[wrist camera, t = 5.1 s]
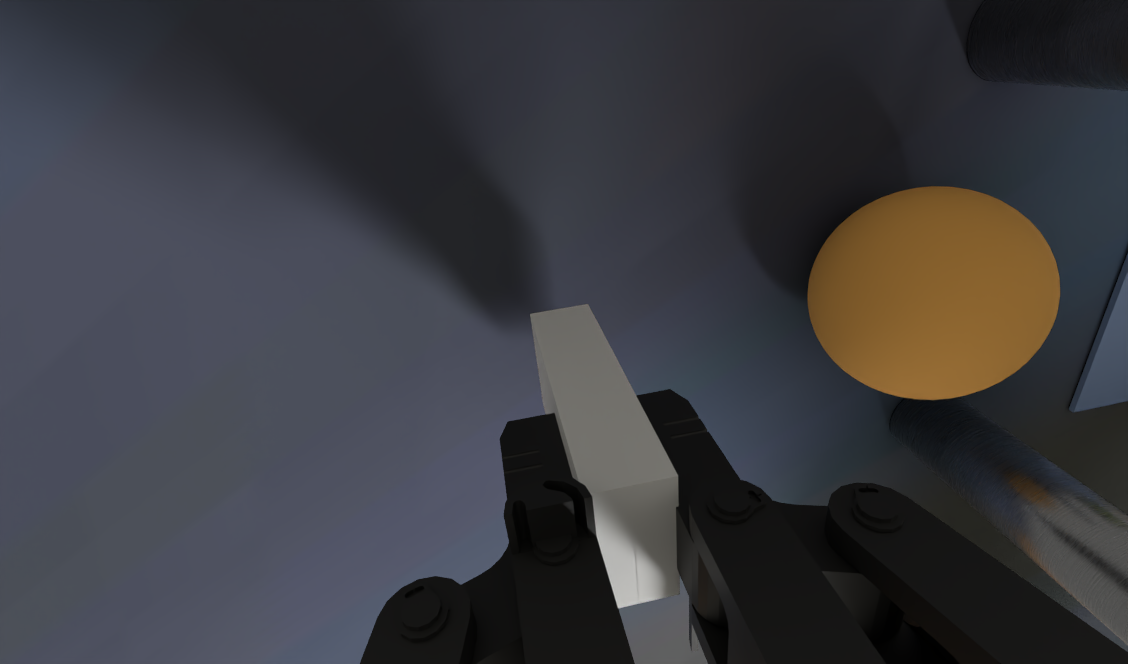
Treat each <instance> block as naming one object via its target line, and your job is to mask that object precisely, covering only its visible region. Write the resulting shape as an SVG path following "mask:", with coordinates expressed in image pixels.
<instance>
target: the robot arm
mask: <svg viewBox="0 0 1128 664" xmlns="http://www.w3.org/2000/svg"><path fill="white" fill-rule="evenodd" d="M530 318H531V324H532V331H533V338H534V345H535V352H536V358H537V365H538V372H539V379H540V386H541V393H542V399H543V405H544V409H545V413H546V415H540V416H535V417H530V418H525V419H519V420H514V421H509V422H507V424H506V427H505V429H504V431H503V433H502V435H501V437H500V445H501V453H502V461H503V469H504V477H505V485H506V493H507V501H506V503H505V510H504V519H505V524H506V529H507V534H508V539H509V544H508V547H507V549H506V551H505V552H504V554H503V555H502V557H501V558H500V559H499V560H498V561H497V562H496V563H495V564H494V565H493V566H492V567H491V568H490V569H488V570H487V571H485V572H484V573H482V574H481V575H479V576H477V577H475V578H473V579H471V580H469V581H467V582H466V583H464V584H462V585H460V584H458V583H457V582H455V581H454V580H452V579H449V578H443V577H437V576H434V577H429V578H423V579H418V580H416V581H414V582H412V583H410V584H408V585H406V586H404V587H402V588H401V589H400V590H399V591H398V592H397V593H395V594H394V595H393V596H392V597H391V598H390V599H389V600H388V601H387V602H386V604H385V606H384V607H383V609H382V611H381V612H380V614H379V616H378V617H377V620H376V623H375V625H374V628H373V631H372V633H371V636H370V638H369V641H368V644H367V646H366V649H365V652H364V654H363V657H362V659H361V662H360V664H635V663H634V660H633V657H632V653H631V650H630V647H629V643H628V640H627V637H626V633H625V630H624V626H623V623H622V620H621V616H620V613H619V610H618V608H622V607H626V606H630V605H635V604H639V603H643V602H648V601H652V600H656V599H661V598H665V597H669V596H674V595H678V594H680V576H681V579H682V581H683V583H684V586H685V588H686V590H687V593H688V595H689V640H690V646H691V651H692V652H694V651H698V640H699V642H700V645H701V647H702V650H703V652H704V655H705V657H706V659H707V662H708V664H1128V652H1126V651H1125V650H1124V649H1122V648H1121V647H1119V646H1118V645H1117V644H1115V643H1114V642H1112V641H1111V640H1109V639H1108V638H1107V637H1105V636H1104V635H1102V634H1101V633H1100V632H1098V631H1097V630H1095V629H1094V628H1092V627H1091V626H1090V625H1088V624H1087V623H1085V622H1084V621H1082V620H1081V619H1080V618H1078V617H1077V616H1075V615H1074V614H1073V613H1071V612H1070V611H1068V610H1067V609H1065V608H1064V607H1063V606H1061V605H1060V604H1058V603H1057V602H1055V601H1054V600H1053V599H1051V598H1050V597H1048V596H1047V595H1046V594H1044V593H1043V592H1041V591H1040V590H1038V589H1037V588H1036V587H1034V586H1033V585H1031V584H1030V583H1029V582H1027V581H1026V580H1024V579H1023V578H1021V577H1020V576H1019V575H1017V574H1016V573H1014V572H1013V571H1011V570H1010V569H1009V568H1007V567H1006V566H1004V565H1003V564H1002V563H1000V562H999V561H997V560H996V559H994V558H993V557H992V556H990V555H989V554H987V553H986V552H984V551H983V550H982V549H980V548H979V547H977V546H976V545H975V544H973V543H972V542H970V541H969V540H967V539H966V538H965V537H963V536H962V535H960V534H959V533H957V532H956V531H955V530H953V529H952V528H950V527H949V526H948V525H946V524H945V523H943V522H942V521H940V520H939V519H938V518H936V517H935V516H933V515H932V514H931V513H929V512H928V511H926V510H925V509H923V508H922V507H921V506H919V505H918V504H916V503H915V502H913V501H912V500H911V499H909V498H908V497H906V496H904V495H902V494H900V493H898V492H897V491H895V490H893V489H891V488H887V487H884V486H880V485H876V484H872V483H853V484H849V485H845V486H841V487H840V488H839V489H837V490H836V491H835V492H834V493H832V494H831V497H830V501H829V504H828V506H811V505H793V504H785V503H779V502H776V501H772V499H771V498H770V497H769V496H768V495H767V494H766V493H765V492H764V491H763V490H762V489H761V488H759V487H757V486H755V485H753V484H751V483H749V482H747V481H743V480H740V478H739V477H738V475H737V474H736V472H735V471H734V469H733V468H732V466H731V465H730V463H729V462H728V460H727V459H726V457H725V456H724V454H723V453H722V451H721V450H720V448H719V447H718V445H717V444H716V442H715V441H714V439H713V438H712V436H711V435H710V433H709V432H707V429H706V427H705V426H704V424H703V423H702V421H701V420H700V419H699V418H698V415H697V413H696V412H695V410H694V409H693V407H692V406H691V404H690V403H689V401H688V400H686V399H685V398H683V397H681V396H680V395H678V394H677V393H675V392H674V391H672V390H670V389H668V390H663V391H658V392H653V393H647V394H642V395H637V396H636V394H635V393H634V391H633V389H632V387H631V385H630V383H629V381H628V379H627V377H626V375H625V374H624V372H623V370H622V368H621V366H620V364H619V362H618V360H617V358H616V356H615V354H614V353H613V351H612V349H611V347H610V345H609V343H608V341H607V339H606V337H605V335H604V333H603V332H602V330H601V328H600V326H599V324H598V322H597V320H596V318H595V316H594V314H593V313H592V311H591V309H590V307H589V305H588V304H585V305H579V306H573V307H567V308H561V309H555V310H549V311H544V312H538V313H532V314H530ZM679 574H680V575H679Z"/></svg>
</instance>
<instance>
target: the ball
mask: <svg viewBox="0 0 1128 664" xmlns="http://www.w3.org/2000/svg"><path fill="white" fill-rule="evenodd" d="M1059 299H1060V277H1059V272H1058V268H1057V264H1056V260H1055V258H1054V256H1053V253H1052V251H1051V249H1050V246H1049V245H1048V243H1047V242H1046V240H1045V238H1044V237H1043V235H1042V234H1041V232H1040V231H1039V230H1038V229H1037V228H1036V227H1035V226H1034V225H1033V223H1032V222H1031V221H1030V220H1029V219H1027V218H1026V217H1025V216H1024V215H1022V214H1021V213H1020V212H1019V211H1017V210H1016V209H1014V208H1013V207H1011V206H1009V205H1008V204H1006V203H1004V202H1003V201H1001V200H999V199H996V198H994V197H992V196H989V195H987V194H984V193H980V192H977V191H973V190H970V189H963V188H956V187H943V186H929V187H919V188H913V189H908V190H903V191H899V192H896V193H893V194H890V195H887V196H884V197H881V198H879V199H877V200H875V201H873V202H871V203H869V204H867V205H865V206H863V207H862V208H860V209H859V210H857V211H856V212H854V213H853V214H852V215H850V216H849V217H848V218H847V219H846V220H844V221H843V222H842V223H841V224H840V225H839V226H838V227H837V228H836V229H835V230H834V231H833V233H832V234H831V235H830V236H829V237H828V239H827V240H826V241H825V243H824V244H823V246H822V248H821V249H820V251H819V253H818V255H817V257H816V260H815V262H814V264H813V267H812V270H811V274H810V278H809V284H808V309H809V315H810V320H811V323H812V326H813V329H814V331H815V334H816V336H817V338H818V340H819V341H820V343H821V345H822V347H823V348H824V350H825V351H826V352H827V354H828V355H829V356H830V357H831V359H832V360H833V361H834V362H835V363H836V364H837V365H838V366H839V367H840V368H841V369H842V370H844V371H845V372H846V373H848V374H849V375H850V376H852V377H853V378H855V379H856V380H858V381H860V382H862V383H863V384H865V385H867V386H869V387H871V388H873V389H876V390H878V391H881V392H883V393H887V394H891V395H894V396H898V397H905V398H912V399H922V400H938V399H950V398H955V397H960V396H965V395H969V394H972V393H975V392H978V391H981V390H984V389H986V388H988V387H991V386H993V385H995V384H997V383H999V382H1001V381H1003V380H1004V379H1006V378H1007V377H1009V376H1010V375H1012V374H1014V373H1015V372H1016V371H1017V370H1019V369H1020V368H1021V367H1022V366H1023V365H1024V364H1026V363H1027V362H1028V361H1029V360H1030V359H1031V358H1032V357H1033V355H1034V354H1035V353H1036V352H1037V351H1038V350H1039V349H1040V347H1041V346H1042V344H1043V342H1044V341H1045V339H1046V338H1047V336H1048V334H1049V333H1050V331H1051V329H1052V326H1053V324H1054V321H1055V319H1056V315H1057V312H1058V306H1059Z"/></svg>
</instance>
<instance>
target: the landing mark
mask: <svg viewBox="0 0 1128 664" xmlns="http://www.w3.org/2000/svg"><path fill="white" fill-rule="evenodd" d="M1126 401H1128V254H1127V256H1126V259H1125V262H1124V264H1123V267H1122V270H1121V272H1120V275H1119V278H1118V280H1117V283H1116V286H1115V288H1114V291H1113V293H1112V296H1111V299H1110V301H1109V304H1108V307H1107V309H1106V312H1105V315H1104V317H1103V320H1102V323H1101V325H1100V328H1099V331H1098V333H1097V336H1096V338H1095V341H1094V344H1093V346H1092V349H1091V352H1090V354H1089V357H1088V360H1087V362H1086V365H1085V368H1084V370H1083V373H1082V375H1081V378H1080V381H1079V383H1078V386H1077V389H1076V391H1075V394H1074V397H1073V399H1072V402H1071V405H1070V407H1069V410H1070V411H1072V412H1073V413H1074V412H1078V411H1083V410H1088V409H1093V408H1097V407H1102V406H1107V405H1112V404H1116V403H1121V402H1126Z"/></svg>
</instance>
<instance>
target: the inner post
mask: <svg viewBox="0 0 1128 664" xmlns="http://www.w3.org/2000/svg"><path fill="white" fill-rule="evenodd" d="M890 431H891V433H892V435H893V437H894V438H895V439H897V440H898V441H899V442H900V443H901V444H902V445H903V446H904V447H906V448H907V449H908V450H909V451H910V452H911V453H912V454H913V455H915V456H916V457H917V458H918V459H919V460H920V461H921V462H922V463H924V464H925V465H926V466H927V467H928V468H929V469H930V470H931V471H933V472H934V473H935V474H936V475H937V476H938V477H939V478H940V479H941V480H943V481H944V482H945V483H946V484H947V485H948V486H949V487H950V488H952V489H953V490H954V491H955V492H956V493H957V494H958V495H959V496H961V497H962V498H963V499H964V500H965V501H966V502H967V503H968V504H970V505H971V506H972V507H973V508H974V509H975V510H976V511H977V512H979V513H980V514H981V515H982V516H983V517H984V518H985V519H986V520H988V521H989V522H990V523H991V524H992V525H993V526H994V527H995V528H997V529H998V530H999V531H1000V532H1001V533H1002V534H1003V535H1004V536H1006V537H1007V538H1008V539H1009V540H1010V541H1011V542H1012V543H1013V544H1014V545H1016V546H1017V547H1018V548H1019V549H1020V550H1021V551H1022V552H1023V553H1025V554H1026V555H1027V556H1028V557H1029V558H1030V559H1031V560H1032V561H1034V562H1035V563H1036V564H1037V565H1038V566H1039V567H1040V568H1041V569H1043V570H1044V571H1045V572H1046V573H1047V574H1048V575H1049V576H1050V577H1052V578H1053V579H1054V580H1055V581H1056V582H1057V583H1058V584H1059V585H1061V586H1062V587H1063V588H1064V589H1065V590H1066V591H1067V592H1068V593H1070V594H1071V595H1072V596H1073V597H1074V598H1075V599H1076V600H1077V601H1079V602H1080V603H1081V604H1082V605H1083V606H1084V607H1085V608H1086V609H1087V610H1089V611H1090V612H1091V613H1092V614H1093V615H1094V616H1095V617H1096V618H1098V619H1099V620H1100V621H1101V622H1102V623H1103V624H1104V625H1105V626H1107V627H1108V628H1109V629H1110V630H1111V631H1112V632H1113V633H1114V634H1116V635H1117V636H1118V637H1119V638H1120V639H1121V640H1122V641H1123V642H1125V643H1126V644H1127V645H1128V515H1127V514H1126V513H1124V512H1123V511H1121V510H1120V509H1118V508H1117V507H1116V506H1114V505H1113V504H1111V503H1110V502H1108V501H1107V500H1106V499H1104V498H1103V497H1101V496H1100V495H1098V494H1097V493H1096V492H1094V491H1093V490H1091V489H1090V488H1088V487H1087V486H1086V485H1084V484H1083V483H1081V482H1080V481H1078V480H1077V479H1076V478H1074V477H1073V476H1071V475H1070V474H1068V473H1067V472H1065V471H1064V470H1063V469H1061V468H1060V467H1058V466H1057V465H1055V464H1054V463H1053V462H1051V461H1050V460H1048V459H1047V458H1045V457H1044V456H1043V455H1041V454H1040V453H1038V452H1037V451H1035V450H1034V449H1033V448H1031V447H1030V446H1028V445H1027V444H1025V443H1024V442H1022V441H1021V440H1020V439H1018V438H1017V437H1015V436H1014V435H1012V434H1011V433H1010V432H1008V431H1007V430H1005V429H1004V428H1002V427H1001V426H1000V425H998V424H997V423H995V422H994V421H992V420H991V419H990V418H988V417H987V416H985V415H984V414H982V413H981V412H979V411H978V410H977V409H975V408H974V407H972V406H971V405H969V404H968V403H967V402H965V401H964V400H962V399H961V398H959V397H955V398H950V399H938V400H922V399H912V398H905V399H904V400H903V401H902V402H901V403H900V404H899V405H898V406H897V408H896V409H895V411H894V413H893V415H892V417H891V421H890Z"/></svg>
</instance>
